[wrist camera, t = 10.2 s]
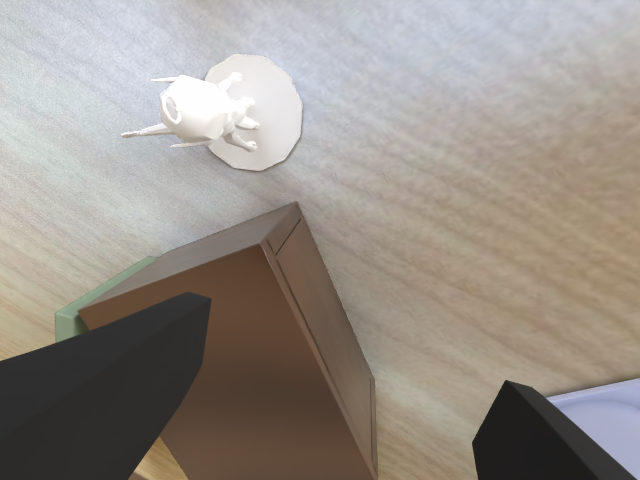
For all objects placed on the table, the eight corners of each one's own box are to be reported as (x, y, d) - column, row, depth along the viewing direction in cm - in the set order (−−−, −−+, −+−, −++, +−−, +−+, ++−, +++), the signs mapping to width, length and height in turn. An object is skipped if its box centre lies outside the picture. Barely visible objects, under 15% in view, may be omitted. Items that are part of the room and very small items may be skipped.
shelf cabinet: (374, 380, 20) (379, 491, 14) (256, 409, 22) (214, 519, 16) (297, 200, 17) (260, 242, 11) (168, 251, 19) (75, 311, 13)
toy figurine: (312, 162, 17) (275, 189, 10) (163, 186, 18) (37, 225, 11) (292, 41, 15) (230, -30, 8) (130, 77, 16) (-42, 43, 9)
